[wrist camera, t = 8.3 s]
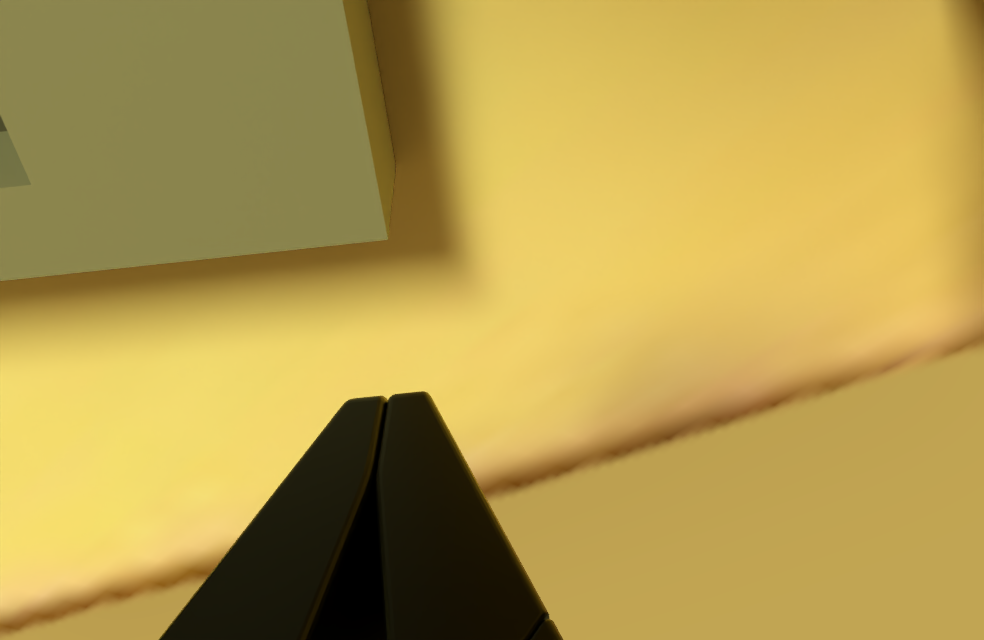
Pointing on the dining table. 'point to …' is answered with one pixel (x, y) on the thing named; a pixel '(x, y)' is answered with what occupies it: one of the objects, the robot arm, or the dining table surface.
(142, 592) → the dining table surface
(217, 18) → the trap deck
